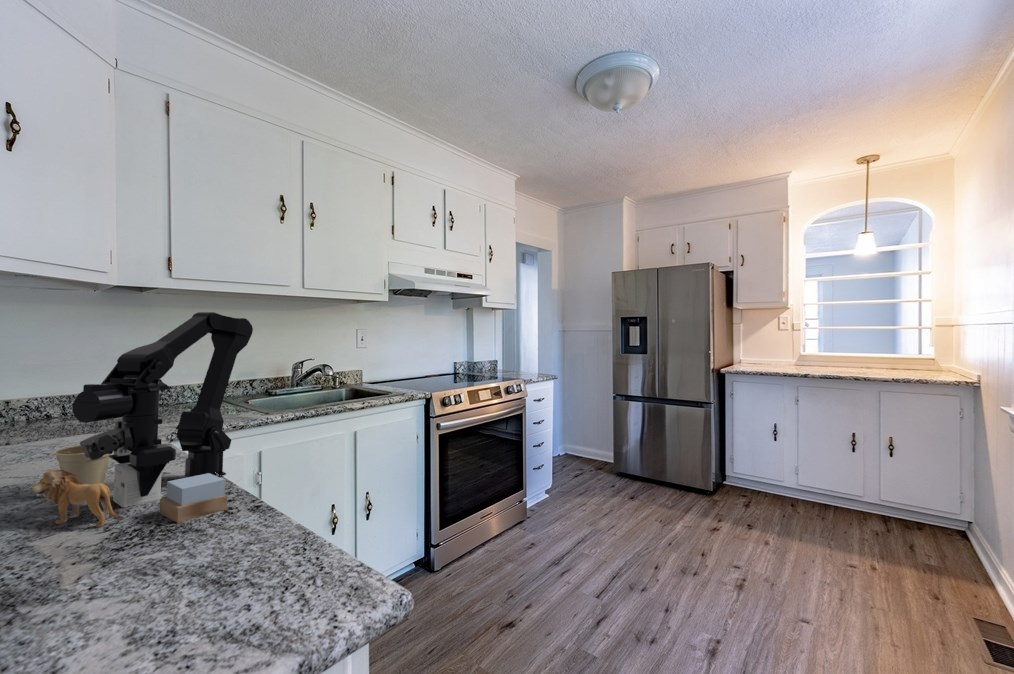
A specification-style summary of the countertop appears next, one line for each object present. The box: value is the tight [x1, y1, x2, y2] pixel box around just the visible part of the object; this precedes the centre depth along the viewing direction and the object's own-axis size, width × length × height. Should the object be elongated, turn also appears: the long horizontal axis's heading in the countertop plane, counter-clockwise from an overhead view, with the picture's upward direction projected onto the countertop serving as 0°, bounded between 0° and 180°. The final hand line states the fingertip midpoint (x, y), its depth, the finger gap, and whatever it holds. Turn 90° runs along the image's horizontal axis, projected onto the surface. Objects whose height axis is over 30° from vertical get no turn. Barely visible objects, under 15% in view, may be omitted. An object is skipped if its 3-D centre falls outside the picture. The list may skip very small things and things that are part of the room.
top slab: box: [166, 473, 226, 506], centre depth 83 cm, size 7×7×3 cm
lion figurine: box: [31, 468, 125, 528], centre depth 77 cm, size 15×5×9 cm, turn 91°
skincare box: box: [112, 463, 162, 508], centre depth 88 cm, size 6×6×7 cm
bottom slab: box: [158, 494, 228, 524], centre depth 83 cm, size 8×8×3 cm
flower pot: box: [53, 445, 112, 484], centre depth 94 cm, size 9×9×9 cm
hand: (137, 492), depth 88 cm, fingers open, 7 cm apart
